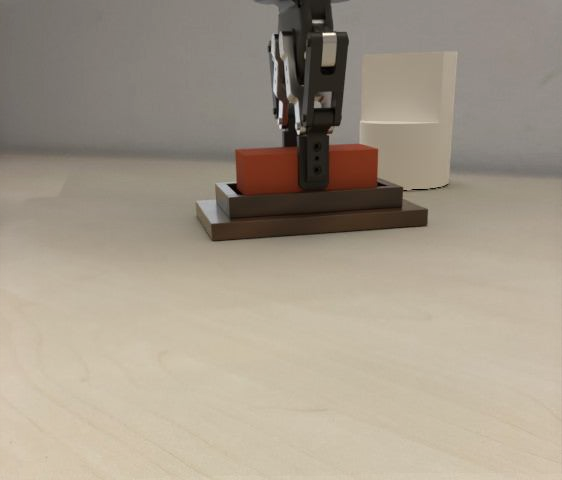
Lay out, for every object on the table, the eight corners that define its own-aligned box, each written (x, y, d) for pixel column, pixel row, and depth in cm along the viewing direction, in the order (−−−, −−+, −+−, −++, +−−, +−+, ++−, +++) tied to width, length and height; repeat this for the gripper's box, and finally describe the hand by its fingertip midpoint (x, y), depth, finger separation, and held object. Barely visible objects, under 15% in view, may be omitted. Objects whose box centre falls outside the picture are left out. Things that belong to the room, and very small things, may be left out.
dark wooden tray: (212, 241, 49) (209, 201, 48) (196, 215, 58) (194, 181, 57) (427, 225, 52) (429, 188, 51) (381, 203, 61) (382, 171, 60)
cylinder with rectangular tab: (463, 180, 72) (473, 51, 67) (424, 193, 65) (432, 50, 60) (385, 175, 77) (390, 54, 72) (341, 186, 70) (343, 54, 65)
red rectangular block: (246, 198, 51) (244, 155, 50) (236, 189, 55) (235, 149, 54) (377, 190, 53) (378, 148, 52) (358, 182, 57) (359, 143, 56)
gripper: (230, -61, 53) (241, 174, 59) (269, -105, 40) (276, 202, 47) (327, -60, 54) (326, 170, 61) (394, -102, 41) (384, 195, 48)
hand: (305, 182), depth 54 cm, fingers closed on red rectangular block, 4 cm apart
